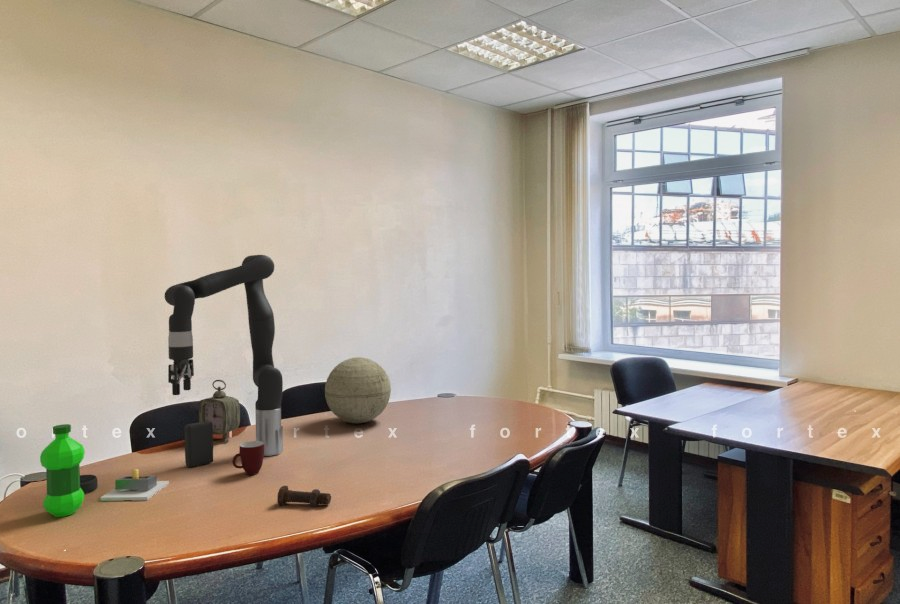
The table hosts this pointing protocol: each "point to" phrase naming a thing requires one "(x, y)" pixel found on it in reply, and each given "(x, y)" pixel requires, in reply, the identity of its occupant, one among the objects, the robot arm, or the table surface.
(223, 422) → the tabletop clock
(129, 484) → the steel link
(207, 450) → the dark grey upright slab
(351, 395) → the concrete ball
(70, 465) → the plastic bottle
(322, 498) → the bolt
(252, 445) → the mug
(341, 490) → the table surface
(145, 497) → the keeper post
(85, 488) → the smart speaker
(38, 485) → the table surface
